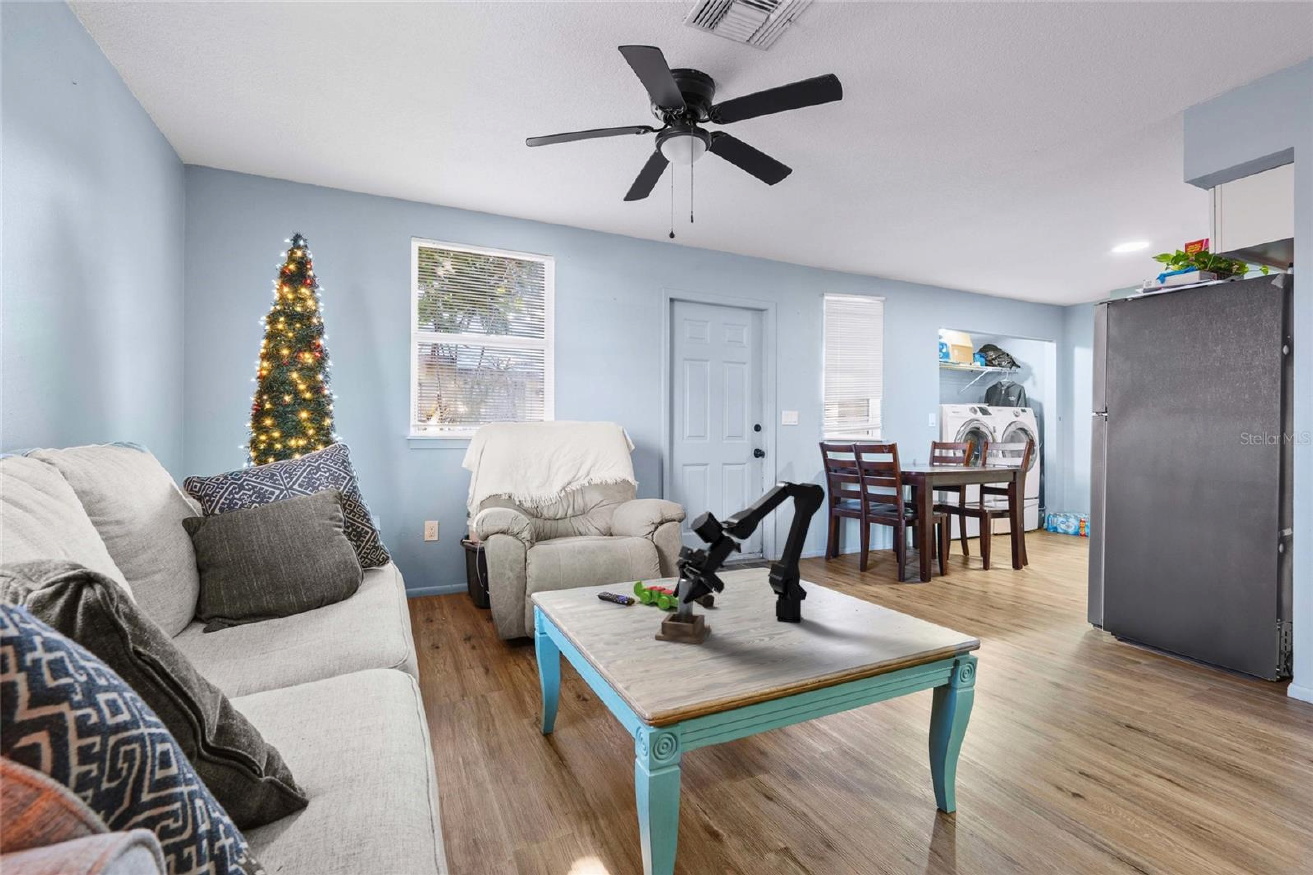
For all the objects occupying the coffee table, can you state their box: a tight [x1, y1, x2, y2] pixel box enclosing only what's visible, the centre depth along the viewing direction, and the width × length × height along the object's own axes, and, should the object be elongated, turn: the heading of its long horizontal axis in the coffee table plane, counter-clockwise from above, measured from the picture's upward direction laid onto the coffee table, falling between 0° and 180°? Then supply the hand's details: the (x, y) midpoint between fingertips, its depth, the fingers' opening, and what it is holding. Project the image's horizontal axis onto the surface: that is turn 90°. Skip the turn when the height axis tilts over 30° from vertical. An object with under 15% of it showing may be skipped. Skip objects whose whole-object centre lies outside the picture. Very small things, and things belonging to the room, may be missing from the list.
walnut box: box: [654, 611, 711, 645], centre depth 157 cm, size 12×12×4 cm
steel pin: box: [676, 578, 694, 624], centre depth 157 cm, size 4×4×13 cm
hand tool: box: [695, 593, 715, 608], centre depth 190 cm, size 19×4×5 cm, turn 20°
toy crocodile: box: [633, 580, 678, 611], centre depth 184 cm, size 20×7×6 cm, turn 47°
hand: (678, 600), depth 157 cm, fingers open, 6 cm apart
